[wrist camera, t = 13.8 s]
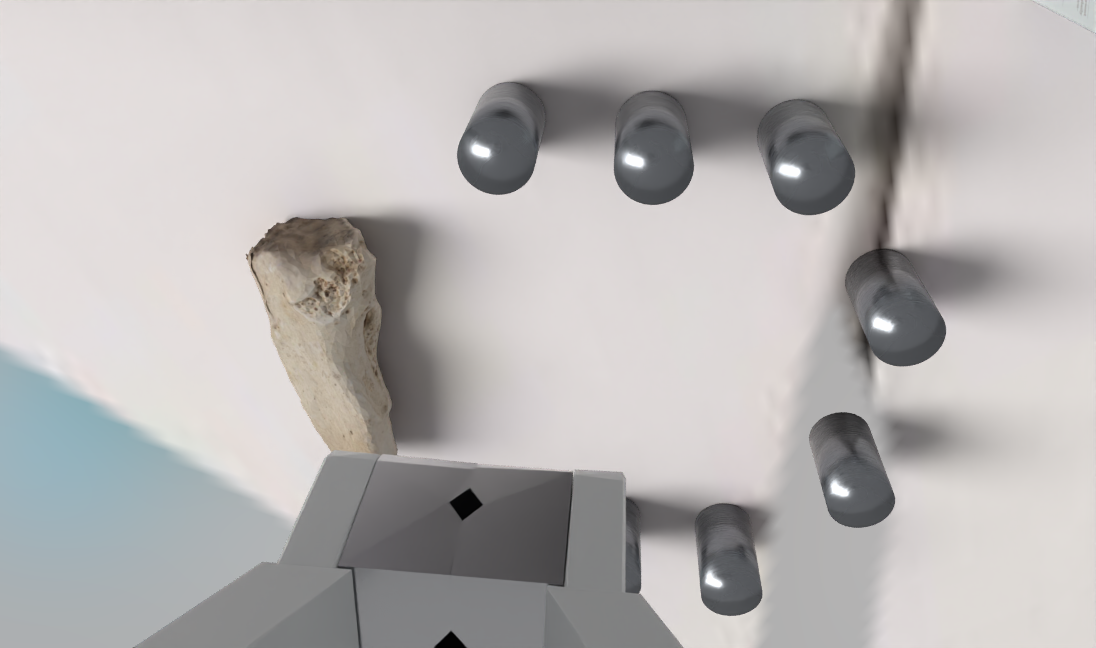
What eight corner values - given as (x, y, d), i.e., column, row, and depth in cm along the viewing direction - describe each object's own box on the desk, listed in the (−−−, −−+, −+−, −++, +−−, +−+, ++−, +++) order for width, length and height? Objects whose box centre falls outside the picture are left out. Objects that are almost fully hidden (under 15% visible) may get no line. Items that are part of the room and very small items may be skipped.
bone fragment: (250, 216, 43) (212, 261, 39) (384, 209, 42) (359, 254, 38) (311, 445, 50) (284, 503, 46) (427, 442, 49) (410, 501, 45)
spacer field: (476, 525, 51) (462, 592, 47) (475, 80, 39) (457, 117, 34) (838, 555, 51) (857, 626, 46) (959, 109, 38) (1001, 151, 34)
